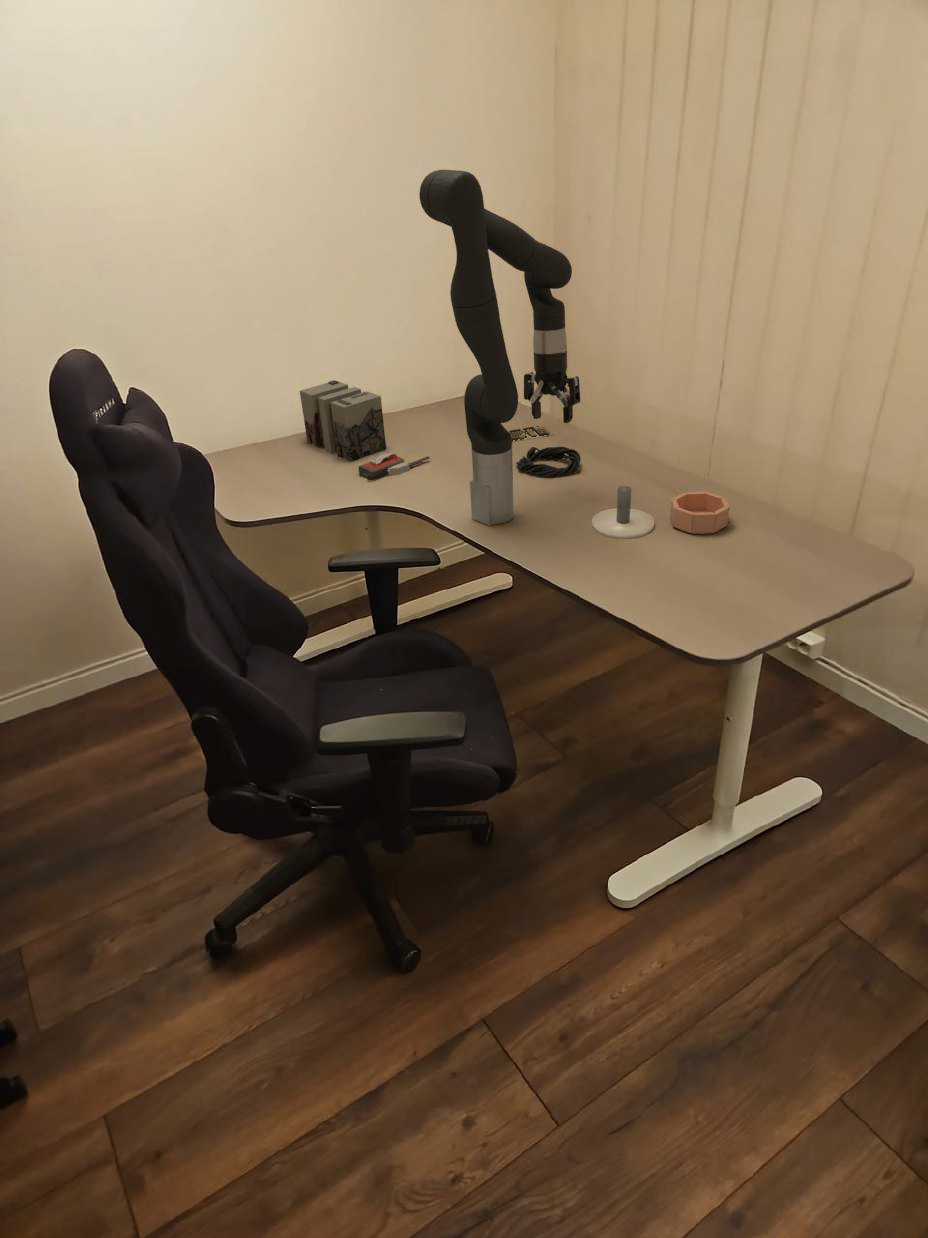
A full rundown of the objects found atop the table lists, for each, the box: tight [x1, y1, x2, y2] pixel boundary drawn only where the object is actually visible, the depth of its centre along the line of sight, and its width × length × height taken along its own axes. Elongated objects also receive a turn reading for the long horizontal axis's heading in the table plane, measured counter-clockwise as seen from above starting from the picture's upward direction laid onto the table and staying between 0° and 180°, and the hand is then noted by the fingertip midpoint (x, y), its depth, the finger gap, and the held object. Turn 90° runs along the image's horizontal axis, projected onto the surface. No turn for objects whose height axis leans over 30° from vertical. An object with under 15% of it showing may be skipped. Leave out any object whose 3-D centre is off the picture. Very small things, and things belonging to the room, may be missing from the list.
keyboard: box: [508, 425, 551, 443], centre depth 254 cm, size 22×9×2 cm, turn 107°
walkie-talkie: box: [358, 451, 431, 481], centre depth 237 cm, size 9×4×20 cm
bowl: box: [669, 491, 730, 535], centre depth 200 cm, size 12×12×5 cm
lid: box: [591, 485, 655, 540], centre depth 200 cm, size 14×14×9 cm
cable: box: [516, 446, 581, 478], centre depth 232 cm, size 17×14×4 cm
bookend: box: [299, 379, 387, 463], centre depth 250 cm, size 16×25×16 cm, turn 41°
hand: (552, 420), depth 206 cm, fingers open, 8 cm apart
